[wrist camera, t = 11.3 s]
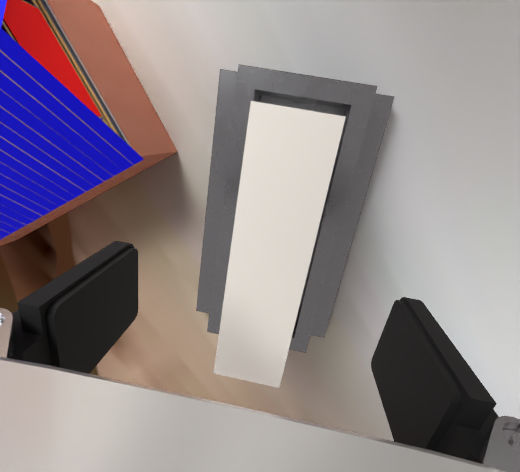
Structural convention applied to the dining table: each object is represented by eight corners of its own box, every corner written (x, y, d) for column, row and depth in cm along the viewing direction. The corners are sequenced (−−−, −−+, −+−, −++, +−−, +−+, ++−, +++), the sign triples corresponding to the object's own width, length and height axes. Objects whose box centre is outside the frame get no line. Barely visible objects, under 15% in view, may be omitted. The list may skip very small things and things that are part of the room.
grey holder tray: (225, 73, 21) (209, 59, 18) (387, 99, 21) (407, 91, 17) (201, 301, 28) (186, 327, 24) (322, 327, 27) (327, 357, 24)
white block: (269, 115, 20) (250, 100, 12) (325, 125, 20) (345, 116, 12) (240, 295, 26) (213, 373, 17) (284, 304, 25) (279, 388, 17)
